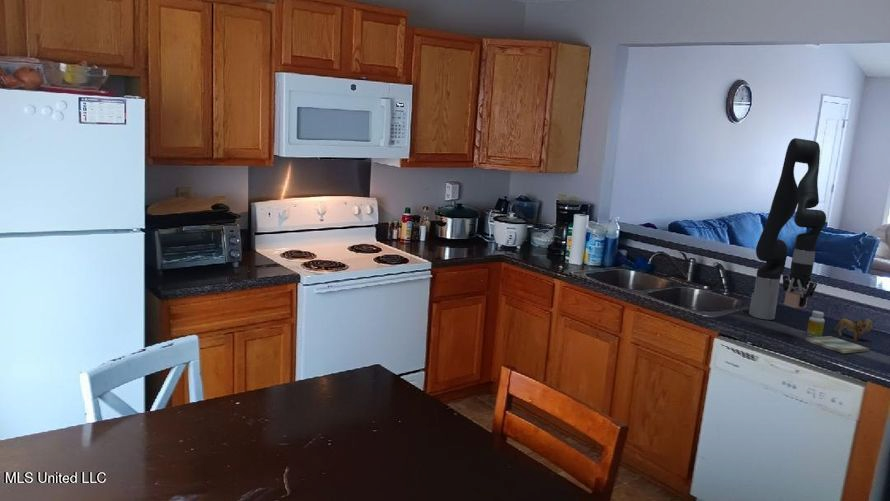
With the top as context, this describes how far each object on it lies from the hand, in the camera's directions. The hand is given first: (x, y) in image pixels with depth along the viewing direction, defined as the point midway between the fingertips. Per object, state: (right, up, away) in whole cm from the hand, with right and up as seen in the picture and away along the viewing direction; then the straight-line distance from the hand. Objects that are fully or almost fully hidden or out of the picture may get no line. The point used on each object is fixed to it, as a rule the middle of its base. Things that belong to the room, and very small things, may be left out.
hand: (795, 304), depth 273 cm
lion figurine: (+26, -14, +7) cm, 30 cm away
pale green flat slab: (+12, -15, -6) cm, 20 cm away
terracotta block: (0, -1, 0) cm, 1 cm away
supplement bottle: (+10, -13, +6) cm, 17 cm away
